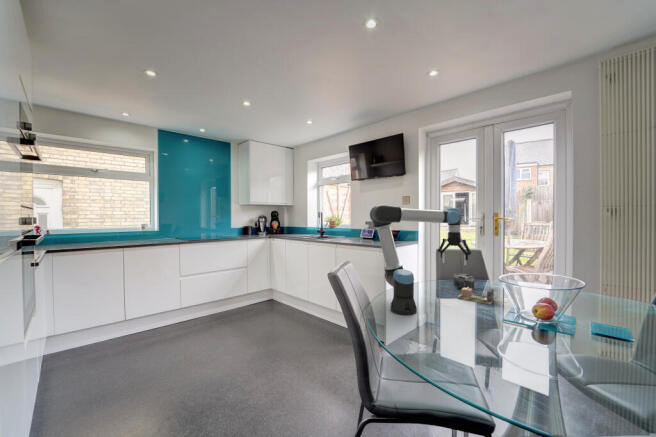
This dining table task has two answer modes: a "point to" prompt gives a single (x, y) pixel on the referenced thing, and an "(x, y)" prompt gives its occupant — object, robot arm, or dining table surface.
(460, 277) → the camera
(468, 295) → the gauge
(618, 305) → the dining table surface
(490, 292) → the scale board
